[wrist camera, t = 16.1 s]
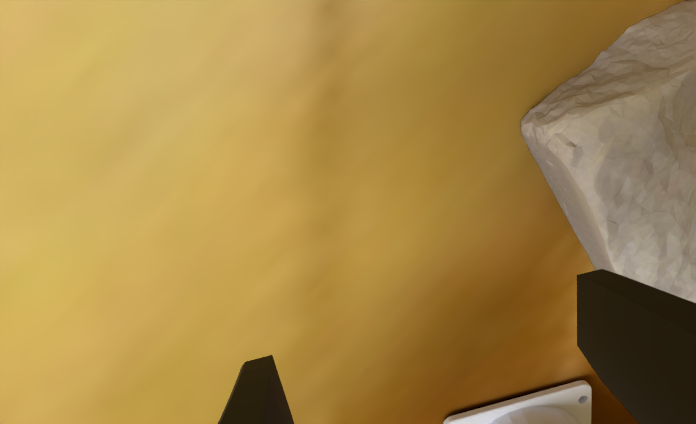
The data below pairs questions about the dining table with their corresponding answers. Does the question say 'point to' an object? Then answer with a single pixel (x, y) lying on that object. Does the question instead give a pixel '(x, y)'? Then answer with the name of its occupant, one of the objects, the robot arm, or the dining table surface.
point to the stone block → (629, 152)
